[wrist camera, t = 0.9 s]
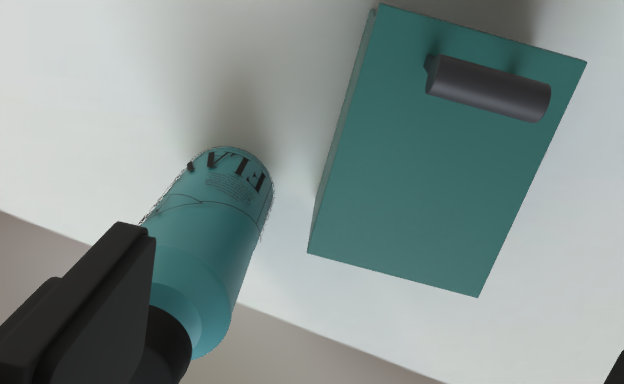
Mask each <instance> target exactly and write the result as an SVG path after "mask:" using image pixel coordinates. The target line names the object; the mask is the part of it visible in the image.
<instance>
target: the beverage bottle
mask: <svg viewBox="0 0 624 384" xmlns="http://www.w3.org/2000/svg"><path fill="white" fill-rule="evenodd" d="M213 148H215V147H213ZM209 149H211V148H209ZM204 151H205V150H204ZM200 153H201V152H200ZM195 157H196V156H194V158H195ZM183 171H184V169H183ZM267 171H268V170H266V167H265V166H264V165H263V164H262V163H261V162H260V161H259V160H258V159H257V158H256V157H255V156H254V155H252V154H250V153H249V152H247V151H244V150H242V149H238V148H234V147H226V146H222V147H220V148H215V149H211V150H208V151H206V152H204V153H201V155H199V156H198V157H197V158H195V160H194V161H193V162H192V161H190V162H189V163H188V164H187V168H186V170H185V171H184V173H183V174H182V175H181V176H180V178H179V176H178V177H177V178H179V179H177V180H176V178H175V180H176V182H175V183H174V184H172V185H173V186H172V187H171V188H170V189H169V191H168V192H167V193H166V194H165V195H164V196H163V197H164V198H163V199H161V198H162V197H160V199H159V200H161V201H158V200H157V201H158V202H159V203H158V204H157V203H156V204H154V206H155V205H157V206H156V208H155V209H154V210H153V211H151V212H152V213H151V212H150V213H151V214H150V213H149V214H150V215H149V214H147V215H149V216H148V218H147V217H146V218H147V219H146V220H145V221H144V222H143V220H144V219H145V216H144V218H143V220H141V221H142V222H143V223H142V222H139V224H140V223H142V224H141V225H140V226H141V227H145V228H147V229H148V233H149V235H148V236H151V237H155V238H156V252H155V260H154V269H153V277H152V285H151V293H150V302H149V310H148V318H147V326H146V335H145V343H144V350H143V354H142V357H141V360H140V362H139V364H138V366H137V368H136V370H135V372H134V374H133V375H132V377H131V379H130V381H129V383H128V384H178V383H179V382H180V380H181V379H182V377H183V376H184V374H185V373H186V371H187V368H188V366H189V364H190V361H191V360H194V359H197V358H199V357H202V356H204V355H206V354H207V353H209V352H210V351H212V350H213V349H214V348H215V347H216V346H217V345H218V344H219V343H220V342H221V341H222V339H223V338H224V336H225V335H226V333H227V331H228V328H229V325H230V322H231V316H232V312H233V309H234V306H235V303H236V300H237V297H238V294H239V291H240V288H241V286H242V283H243V280H244V277H245V274H246V271H247V268H248V265H249V262H250V259H251V256H252V253H253V251H254V249H255V247H256V245H257V242H258V239H259V236H260V241H261V239H262V238H261V235H260V234H261V231H262V229H263V225H264V224H265V220H266V219H268V218H266V217H267V214H268V211H269V209H270V206H271V205H272V204H273V203H272V202H274V201H273V200H272V198H273V194H274V192H275V190H274V191H273V188H272V183H273V181H272V183H271V179H272V178H271V179H270V176H269V174H268V173H269V172H267ZM180 173H181V172H180ZM273 186H274V185H273ZM274 199H275V197H274ZM272 206H273V205H272ZM151 209H152V208H151ZM271 210H272V209H271ZM271 210H270V211H271ZM147 215H146V216H147ZM265 225H266V224H265ZM265 225H264V226H265ZM263 231H264V229H263Z"/></svg>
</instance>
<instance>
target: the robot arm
mask: <svg viewBox="0 0 624 384" xmlns="http://www.w3.org/2000/svg"><path fill="white" fill-rule="evenodd" d="M148 235H149V233H148V229H147V228H145V227H141V226H137V225H133V224H128V223H124V222H119V221H118V222H116V223H115V224H114V225H113V226H112V227H111V228H110V229H109V230H108V231H107V232H106V233H105V234H104V235H103V236H102V237H101V238H100V239H99V240H98V241H97V242H96V243H95V244H94V245H93V246H92V247H91V249H90V250H89V251H88V252H87V253H86V254H85V255H84V256H83V257H82V258H81V259H80V260H79V261H78V262H77V263H76V264H75V265H74V266H73V267H72V268H71V269H70V270H69V271H68V272H67V273H66V274H65V275H64V276H63V277H62V278H59V277H51V278H50V279H48V280H47V281H45V282H44V283H43V284H42V285H41V286H40V287H39V288H38V289H37V290H36V291H35V292H34V293H33V294H32V295H31V296H30V297H29V298H28V299H27V300H26V301H25V302H24V303H23V304H22V305H21V306H20V307H19V308H18V309H17V310H16V311H15V312H14V313H13V314H12V315H11V316H10V317H9V318H8V319H7V320H6V321H5V322H4V323H3V324H2V325H1V326H0V384H128V383H129V381H130V379H131V377H132V375H133V374H134V372H135V370H136V368H137V366H138V364H139V362H140V360H141V357H142V354H143V350H144V343H145V335H146V326H147V318H148V310H149V302H150V293H151V285H152V277H153V269H154V260H155V252H156V238H155V237H151V236H148ZM604 384H624V350H623V351H622V352H621V354H620V355H619V357H618V359H617V361H616V363H615V364H614V366H613V368H612V370H611V371H610V373H609V375H608V377H607V379H606V380H605V382H604Z"/></svg>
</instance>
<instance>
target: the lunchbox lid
mask: <svg viewBox="0 0 624 384" xmlns="http://www.w3.org/2000/svg"><path fill="white" fill-rule="evenodd" d="M586 65H587V62H586V61H584V60H581V59H578V58H574V57H571V56H567V55H564V54H560V53H557V52H553V51H550V50H546V49H542V48H539V47H535V46H532V45H528V44H525V43H521V42H518V41H514V40H511V39H507V38H503V37H500V36H496V35H493V34H489V33H486V32H482V31H479V30H475V29H472V28H468V27H465V26H461V25H457V24H454V23H450V22H447V21H443V20H440V19H436V18H433V17H429V16H426V15H422V14H418V13H415V12H411V11H408V10H404V9H401V8H397V7H394V6H390V5H387V4H383V3H379V6H378V9H377V13H376V16H375V20H374V23H373V26H372V30H371V33H370V37H369V40H368V43H367V47H366V50H365V54H364V57H363V60H362V64H361V67H360V71H359V74H358V77H357V81H356V84H355V88H354V91H353V94H352V98H351V101H350V105H349V108H348V111H347V115H346V118H345V122H344V125H343V128H342V132H341V135H340V139H339V142H338V145H337V149H336V152H335V156H334V159H333V162H332V166H331V169H330V173H329V176H328V179H327V183H326V186H325V190H324V193H323V196H322V200H321V203H320V207H319V210H318V213H317V217H316V220H315V223H314V227H313V230H312V234H311V237H310V240H309V244H308V248H307V253H308V254H312V255H316V256H320V257H324V258H328V259H331V260H335V261H339V262H343V263H347V264H350V265H354V266H358V267H362V268H366V269H369V270H373V271H377V272H381V273H385V274H388V275H392V276H396V277H400V278H404V279H407V280H411V281H415V282H419V283H423V284H426V285H430V286H434V287H438V288H442V289H445V290H449V291H453V292H457V293H461V294H464V295H468V296H472V297H476V298H478V297H479V295H480V292H481V290H482V288H483V286H484V284H485V282H486V280H487V277H488V275H489V273H490V271H491V269H492V267H493V265H494V262H495V260H496V258H497V256H498V254H499V252H500V249H501V247H502V245H503V243H504V241H505V239H506V237H507V234H508V232H509V230H510V228H511V226H512V224H513V222H514V219H515V217H516V215H517V213H518V211H519V209H520V206H521V204H522V202H523V200H524V198H525V196H526V194H527V191H528V189H529V187H530V185H531V183H532V181H533V179H534V176H535V174H536V172H537V170H538V168H539V166H540V163H541V161H542V159H543V157H544V155H545V153H546V151H547V148H548V146H549V144H550V142H551V140H552V138H553V136H554V133H555V131H556V129H557V127H558V125H559V123H560V120H561V118H562V116H563V114H564V112H565V110H566V108H567V105H568V103H569V101H570V99H571V97H572V95H573V92H574V90H575V88H576V86H577V84H578V82H579V80H580V77H581V75H582V73H583V71H584V69H585V67H586Z"/></svg>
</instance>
